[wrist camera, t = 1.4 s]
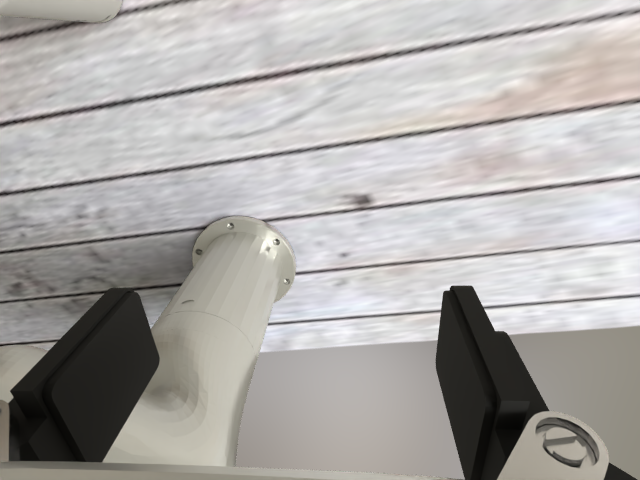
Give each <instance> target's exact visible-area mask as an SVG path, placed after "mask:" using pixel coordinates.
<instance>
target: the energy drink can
mask: <svg viewBox="0 0 640 480" xmlns="http://www.w3.org/2000/svg"><path fill="white" fill-rule="evenodd" d="M122 1H123V0H0V16H7V17H21V18H35V19H49V20H64V21H78V22H92V23H103V22H107V21H109V20H111V19H112V18H114V17H115V16H116V15H117V13H118V12H119V10H120V8H121V5H122Z"/></svg>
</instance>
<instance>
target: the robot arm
mask: <svg viewBox="0 0 640 480" xmlns="http://www.w3.org/2000/svg"><path fill="white" fill-rule="evenodd" d="M231 223H232V224H231ZM276 239H278V240H276ZM192 264H193V269H192V271H191V272H190V274H189V275H188V276H187V278H186V279H185V281H184V282H183V284H182V285H181V287H180V288H179V289H178V291H177V292H176V294H175V295H174V297H173V298H172V300H171V301H170V302H169V304H168V305H167V307H166V308H165V310H164V311H163V313H162V314H161V315H160V317H159V318H158V320H157V321H156V323H155V324H154V326H153V327H152V328H151V329H150V326H149V323H148V320H147V317H146V314H145V311H144V308H143V305H142V302H141V299H140V296H139V294H138V293H136V292H134V290H133V289H132V288H110V289H109V290H108V291H107V292H106V293H105V294H104V295H103V296H102V297H101V298H100V299H99V300H98V301H97V302H96V303H95V304H94V305H93V306H92V307H91V308H90V309H89V310H88V311H87V312H86V313H85V314H84V315H83V316H82V317H81V318H80V319H79V320H78V322H77V323H76V324H75V325H74V326H73V327H72V328H71V329H70V330H69V331H68V332H67V333H66V334H65V335H64V336H63V337H62V338H61V339H60V340H59V341H58V342H57V343H56V344H55V345H54V346H53V347H52V348H51V349H50V350H49V351H47V350H44V349H41V348H37V347H33V346H27V345H9V346H3V347H0V480H461V479H451V478H442V477H433V476H418V475H402V474H401V475H400V474H385V473H368V472H346V471H345V472H344V471H322V470H299V469H297V470H296V469H275V468H249V467H248V468H247V467H236V456H237V445H238V436H239V430H240V424H241V418H242V414H243V409H244V404H245V401H246V397H247V393H248V390H249V386H250V383H251V379H252V376H253V372H254V369H255V365H256V362H257V359H258V356H259V352H260V349H261V345H262V342H263V338H264V335H265V332H266V328H267V325H268V321H269V318H270V314H271V311H272V308H273V304H274V303H275V302H277V301H279V300H280V299H281V298H282V297H284V296H285V295H286V293H287V292H288V291H289V290H290V288H291V286H292V284H293V281H294V278H295V274H296V260H295V255H294V252H293V250H292V247H291V246H290V244H289V242H288V241H287V240H286V238H285V237H284V236H283V235H282V234H281V233H280V232H279V231H278V230H276V229H275V228H274V227H273V226H271V225H269V224H267V223H265V222H264V221H261V220H258V219H255V218H251V217H245V216H232V217H227V218H223V219H220V220H218V221H215V222H214V223H212V224H211V225H209V226H208V227H207V228H206V229H205V230H204V231H203V232H202V233H201V234H200V236H199V237H198V239H197V240H196V242H195V245H194V247H193V253H192ZM436 370H437V374H438V378H439V382H440V386H441V389H442V393H443V397H444V401H445V405H446V409H447V412H448V416H449V420H450V424H451V428H452V431H453V435H454V439H455V443H456V447H457V450H458V454H459V458H460V462H461V466H462V470H463V473H464V477H465V480H637V479H635V478H634V477H632V476H631V475H629V474H627V473H626V472H624V471H622V470H621V469H619V468H617V467H616V466H614V465H612V464H611V463H609V454H608V451H607V449H606V446H605V444H604V443H603V442H602V440H601V438H600V437H599V436H598V434H596V433H595V432H594V431H593V430H592V429H591V428H590V427H589V426H588V425H586V424H584V423H583V422H581V421H580V420H578V419H577V418H574V417H572V416H569V415H567V414H564V413H560V412H554V411H549V409H548V408H547V406H546V404H545V402H544V400H543V398H542V397H541V395H540V393H539V391H538V389H537V387H536V385H535V384H534V382H533V380H532V378H531V376H530V374H529V372H528V371H527V369H526V367H525V365H524V363H523V361H522V359H521V358H520V356H519V354H518V352H517V350H516V349H515V346H514V345H513V343H512V341H511V339H510V337H509V336H508V334H507V333H505V332H504V331H495V330H494V328H493V326H492V324H491V322H490V320H489V318H488V316H487V314H486V312H485V310H484V308H483V306H482V304H481V302H480V300H479V298H478V296H477V294H476V292H475V290H474V288H473V287H472V286H451V288H450V291H444V293H443V300H442V308H441V317H440V326H439V335H438V344H437V353H436Z"/></svg>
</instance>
